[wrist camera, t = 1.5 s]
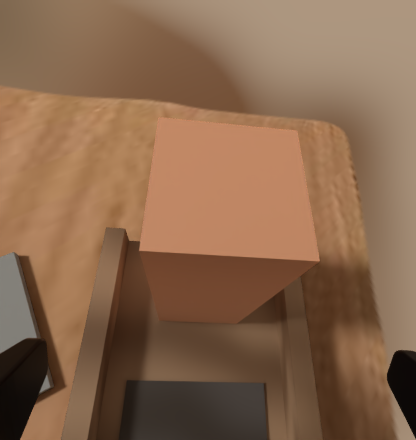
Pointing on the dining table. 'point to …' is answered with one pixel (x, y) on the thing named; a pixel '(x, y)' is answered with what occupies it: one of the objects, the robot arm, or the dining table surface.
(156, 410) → the walnut channel
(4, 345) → the slate mat
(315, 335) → the dining table surface
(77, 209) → the dining table surface
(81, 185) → the dining table surface
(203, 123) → the terracotta block
